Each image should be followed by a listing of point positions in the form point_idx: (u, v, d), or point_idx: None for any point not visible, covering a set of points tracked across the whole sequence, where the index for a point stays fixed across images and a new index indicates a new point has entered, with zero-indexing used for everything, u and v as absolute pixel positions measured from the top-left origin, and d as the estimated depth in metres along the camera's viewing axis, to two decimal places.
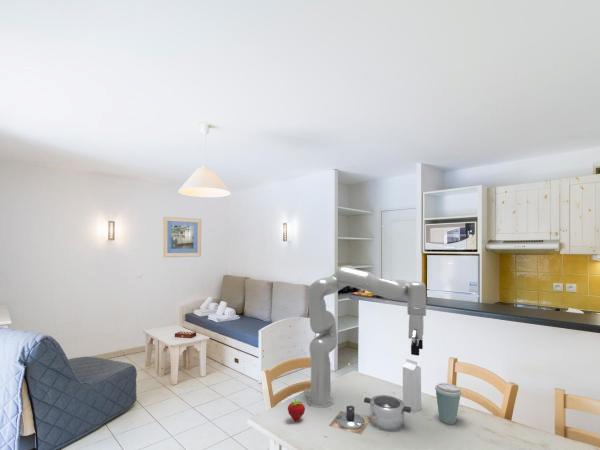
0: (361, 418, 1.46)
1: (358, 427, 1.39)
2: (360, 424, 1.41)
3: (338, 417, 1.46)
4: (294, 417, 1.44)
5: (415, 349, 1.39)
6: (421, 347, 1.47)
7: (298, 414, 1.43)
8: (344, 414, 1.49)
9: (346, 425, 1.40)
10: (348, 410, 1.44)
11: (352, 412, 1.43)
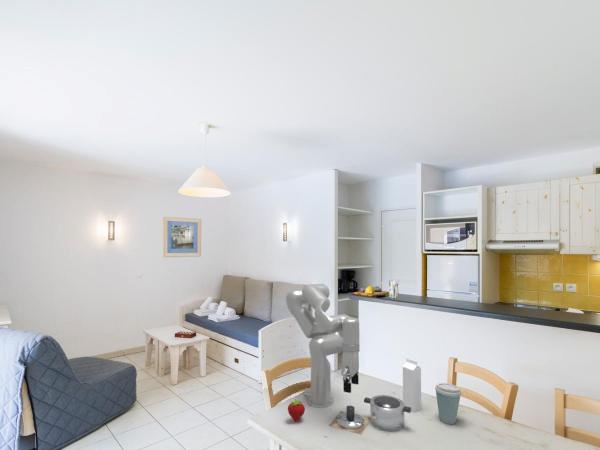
0: (361, 418, 1.46)
1: (358, 427, 1.39)
2: (360, 424, 1.41)
3: (338, 417, 1.46)
4: (294, 417, 1.44)
5: (347, 386, 1.40)
6: (357, 382, 1.48)
7: (298, 414, 1.43)
8: (344, 414, 1.49)
9: (346, 425, 1.40)
10: (348, 410, 1.44)
11: (352, 412, 1.43)
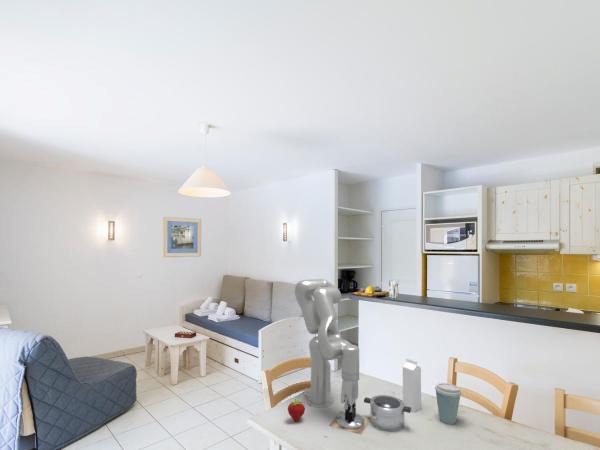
0: (361, 418, 1.46)
1: (358, 427, 1.39)
2: (360, 424, 1.41)
3: (338, 417, 1.46)
4: (294, 417, 1.44)
5: (348, 415, 1.42)
6: (354, 415, 1.46)
7: (298, 414, 1.43)
8: (344, 414, 1.49)
9: (346, 425, 1.40)
10: None
11: None
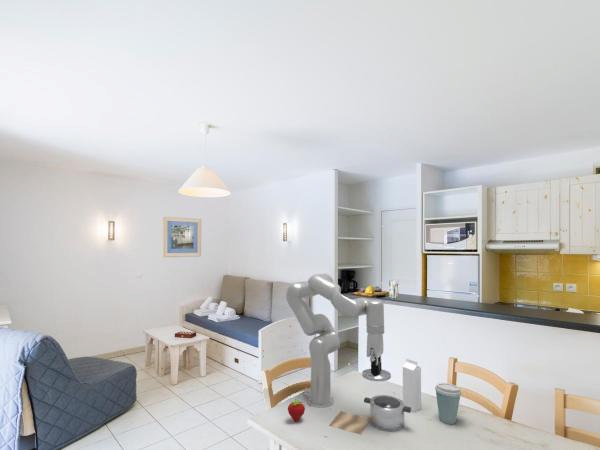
0: (387, 372, 1.46)
1: (385, 379, 1.40)
2: (387, 376, 1.41)
3: (364, 372, 1.47)
4: (294, 417, 1.44)
5: (374, 368, 1.43)
6: (380, 370, 1.46)
7: (298, 414, 1.43)
8: (369, 370, 1.49)
9: (373, 377, 1.40)
10: None
11: None
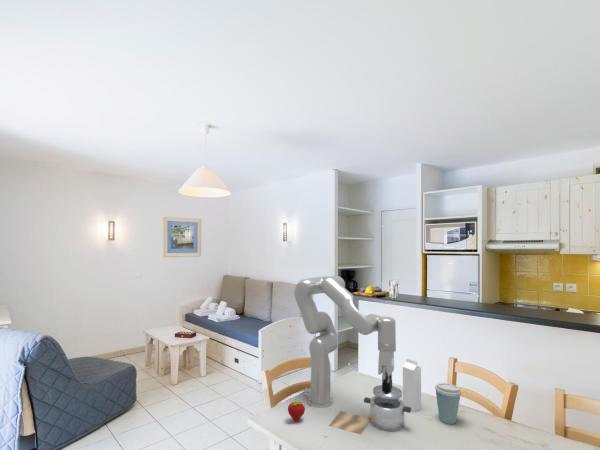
0: (398, 389, 1.46)
1: (397, 397, 1.39)
2: (398, 394, 1.41)
3: (375, 389, 1.46)
4: (294, 417, 1.44)
5: (386, 386, 1.42)
6: None
7: (298, 414, 1.43)
8: (380, 386, 1.49)
9: (384, 395, 1.40)
10: None
11: None
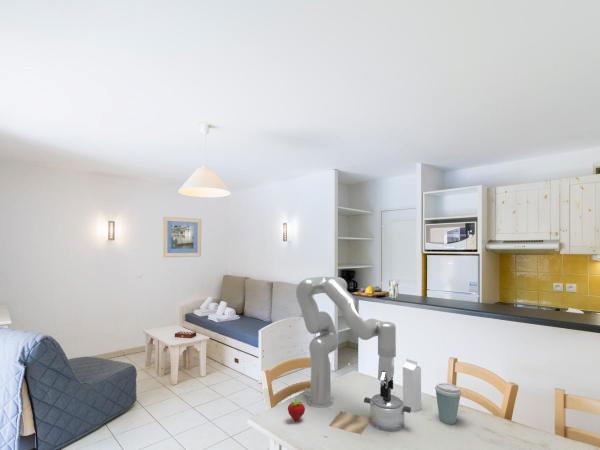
0: (397, 398, 1.46)
1: (396, 406, 1.39)
2: (397, 404, 1.41)
3: (374, 398, 1.46)
4: (294, 417, 1.44)
5: (384, 391, 1.40)
6: (391, 387, 1.48)
7: (298, 414, 1.43)
8: (379, 395, 1.49)
9: (384, 405, 1.40)
10: None
11: (389, 392, 1.44)
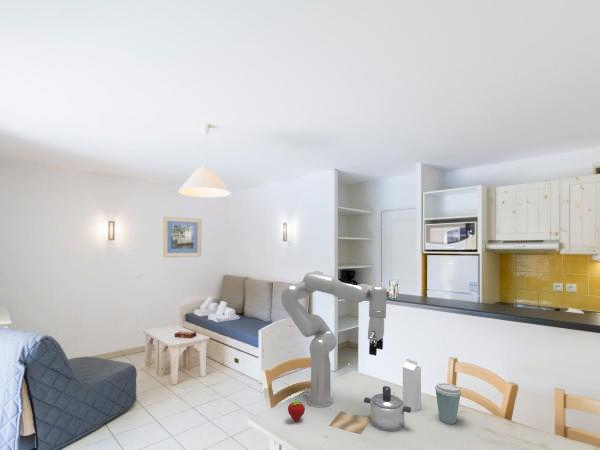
0: (397, 398, 1.46)
1: (396, 406, 1.39)
2: (397, 404, 1.41)
3: (374, 398, 1.46)
4: (294, 417, 1.44)
5: (372, 349, 1.48)
6: (381, 348, 1.56)
7: (298, 414, 1.43)
8: (379, 395, 1.49)
9: (384, 405, 1.40)
10: (385, 390, 1.44)
11: (389, 392, 1.44)
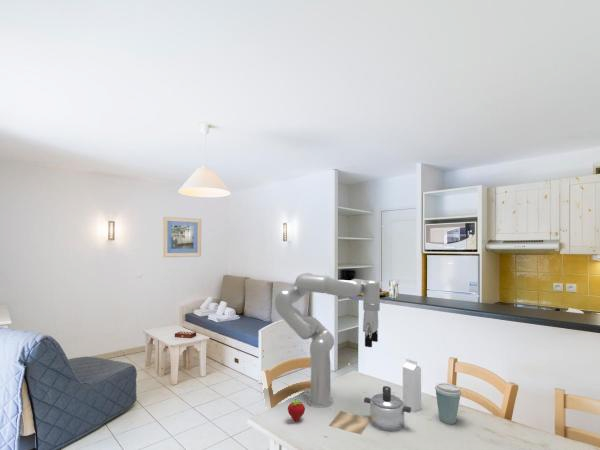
0: (397, 398, 1.46)
1: (396, 406, 1.39)
2: (397, 404, 1.41)
3: (374, 398, 1.46)
4: (294, 417, 1.44)
5: (368, 341, 1.52)
6: (376, 340, 1.61)
7: (298, 414, 1.43)
8: (379, 395, 1.49)
9: (384, 405, 1.40)
10: (385, 390, 1.44)
11: (389, 392, 1.44)
